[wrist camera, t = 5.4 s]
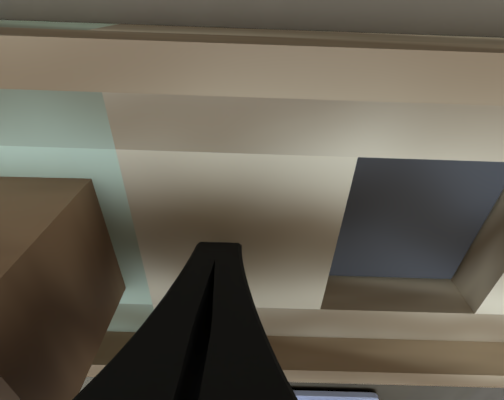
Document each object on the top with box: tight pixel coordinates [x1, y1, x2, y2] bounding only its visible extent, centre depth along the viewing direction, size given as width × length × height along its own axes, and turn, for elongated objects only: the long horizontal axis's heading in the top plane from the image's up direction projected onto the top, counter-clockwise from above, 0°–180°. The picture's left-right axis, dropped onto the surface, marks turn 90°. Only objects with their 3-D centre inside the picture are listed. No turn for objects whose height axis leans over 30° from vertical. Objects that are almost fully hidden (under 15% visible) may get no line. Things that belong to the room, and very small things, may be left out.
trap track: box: [0, 20, 504, 388], centre depth 11 cm, size 13×32×4 cm, turn 88°
